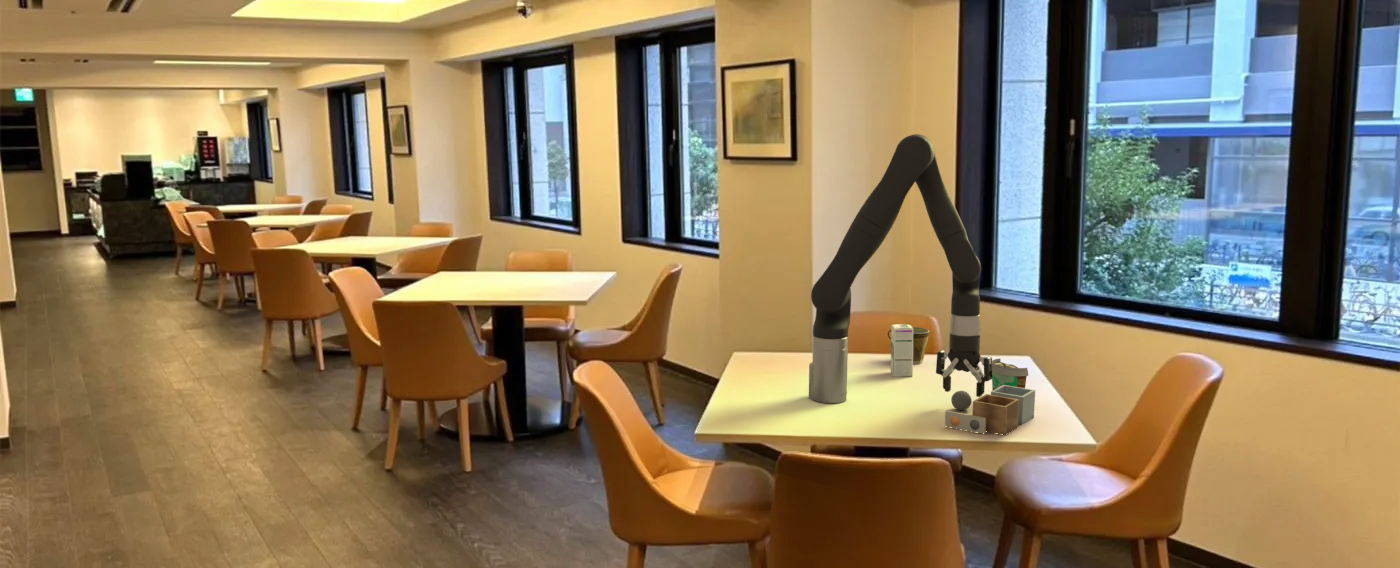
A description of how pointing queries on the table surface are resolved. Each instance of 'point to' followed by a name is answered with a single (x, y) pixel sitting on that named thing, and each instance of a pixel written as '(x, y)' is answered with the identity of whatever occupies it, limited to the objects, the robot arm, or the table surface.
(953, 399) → the charcoal ball
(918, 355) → the ceramic cup
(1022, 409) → the slate bin
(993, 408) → the brown bin
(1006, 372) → the food container
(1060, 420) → the table surface
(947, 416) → the card
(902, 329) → the syrup box
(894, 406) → the table surface
